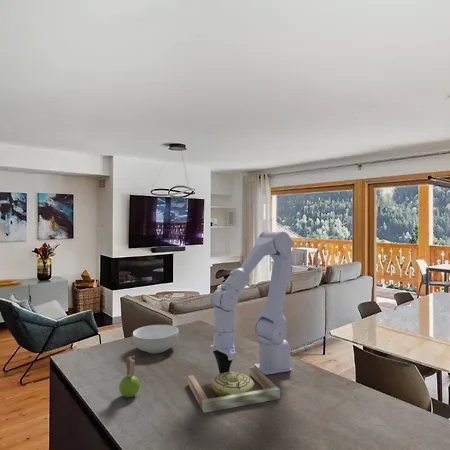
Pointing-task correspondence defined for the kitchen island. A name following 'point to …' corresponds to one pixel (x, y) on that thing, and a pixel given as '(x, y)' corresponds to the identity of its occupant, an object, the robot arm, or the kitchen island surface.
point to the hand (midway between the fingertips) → (224, 375)
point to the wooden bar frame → (239, 399)
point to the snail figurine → (129, 380)
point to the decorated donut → (232, 383)
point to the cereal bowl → (155, 338)
